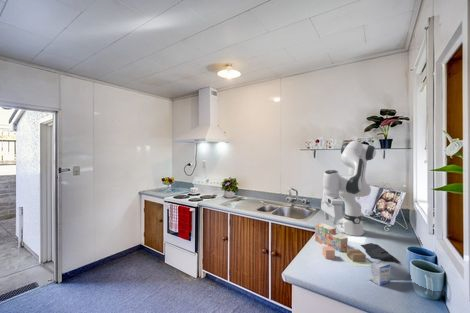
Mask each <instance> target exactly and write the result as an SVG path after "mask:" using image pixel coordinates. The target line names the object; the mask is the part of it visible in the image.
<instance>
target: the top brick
mask: <svg viewBox="0 0 470 313" xmlns="http://www.w3.org/2000/svg"><path fill="white" fill-rule="evenodd" d="M335 252H336V250H335V249H333V248H332V247H329V246H322V255H323V257H324V259H325V260H335V259H336V258H335V256H336V255H335V254H336V253H335Z"/></svg>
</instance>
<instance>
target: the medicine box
mask: <svg viewBox="0 0 470 313" xmlns="http://www.w3.org/2000/svg"><path fill="white" fill-rule="evenodd" d="M371 263H372V264H371V266H370V281H371V282H373V283H374V284H376V285H378V286H382V285H384V284H388V283H390V282H391V264H390V263H388V262H387V261H381V260H378V261H375V262H371Z"/></svg>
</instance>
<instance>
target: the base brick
mask: <svg viewBox="0 0 470 313" xmlns="http://www.w3.org/2000/svg"><path fill="white" fill-rule="evenodd" d="M346 252H347V256H348V257H349V258H350V259H351V260H352V261H353V262H366V259H367V256H366V254H365V253H364V252H363V251H361V250H360V249H358V248H357V249H355V248H354V249H352V248H347V251H346Z"/></svg>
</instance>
